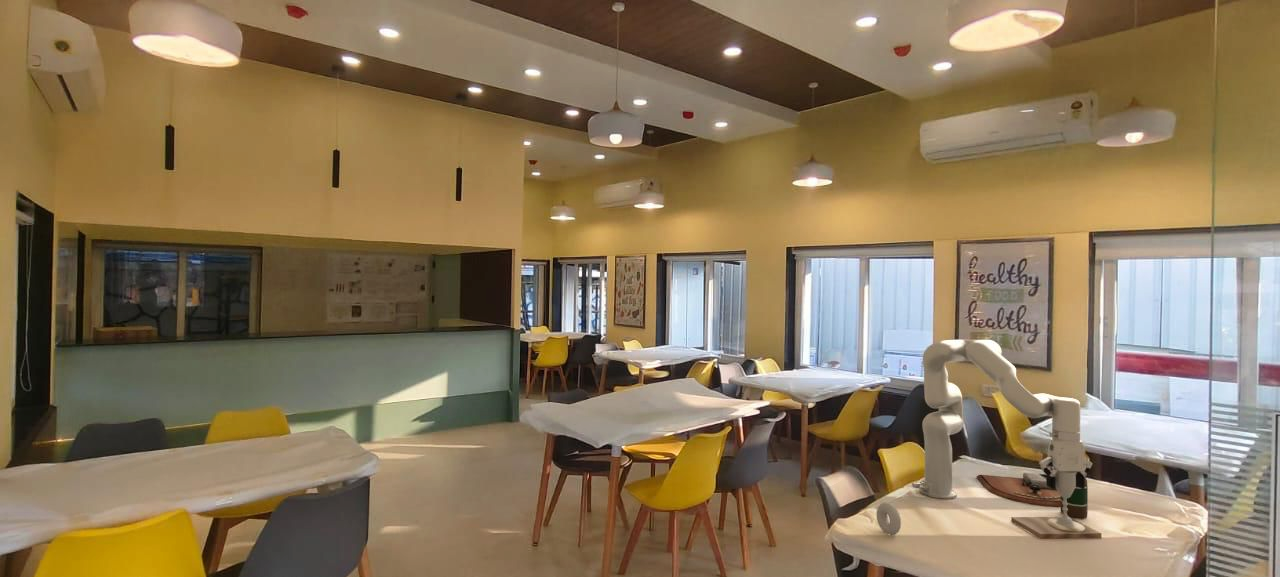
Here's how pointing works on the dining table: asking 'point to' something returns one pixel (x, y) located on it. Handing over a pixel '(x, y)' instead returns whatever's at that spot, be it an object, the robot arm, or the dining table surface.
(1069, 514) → the beer bottle
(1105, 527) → the dining table surface
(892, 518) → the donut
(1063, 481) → the chalice
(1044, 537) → the walnut board
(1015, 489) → the wooden control board
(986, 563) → the dining table surface
